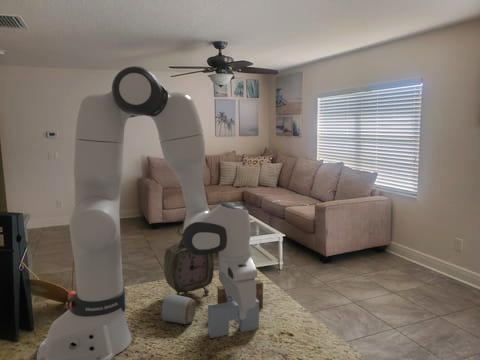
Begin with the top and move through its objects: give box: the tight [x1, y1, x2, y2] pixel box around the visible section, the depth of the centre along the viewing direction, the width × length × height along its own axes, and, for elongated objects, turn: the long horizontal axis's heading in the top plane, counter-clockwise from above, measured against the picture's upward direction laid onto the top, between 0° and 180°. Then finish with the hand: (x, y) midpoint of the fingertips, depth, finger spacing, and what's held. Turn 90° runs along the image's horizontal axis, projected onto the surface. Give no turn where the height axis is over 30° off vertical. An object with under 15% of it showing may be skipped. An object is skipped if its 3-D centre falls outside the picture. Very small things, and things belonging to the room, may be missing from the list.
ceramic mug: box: [160, 293, 197, 325], centre depth 112 cm, size 11×8×8 cm
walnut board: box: [216, 279, 264, 309], centre depth 117 cm, size 14×2×8 cm, turn 110°
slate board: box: [207, 299, 260, 339], centre depth 105 cm, size 14×2×8 cm, turn 110°
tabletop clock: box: [163, 223, 215, 296], centre depth 126 cm, size 14×9×25 cm, turn 123°
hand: (236, 309), depth 105 cm, fingers open, 8 cm apart
